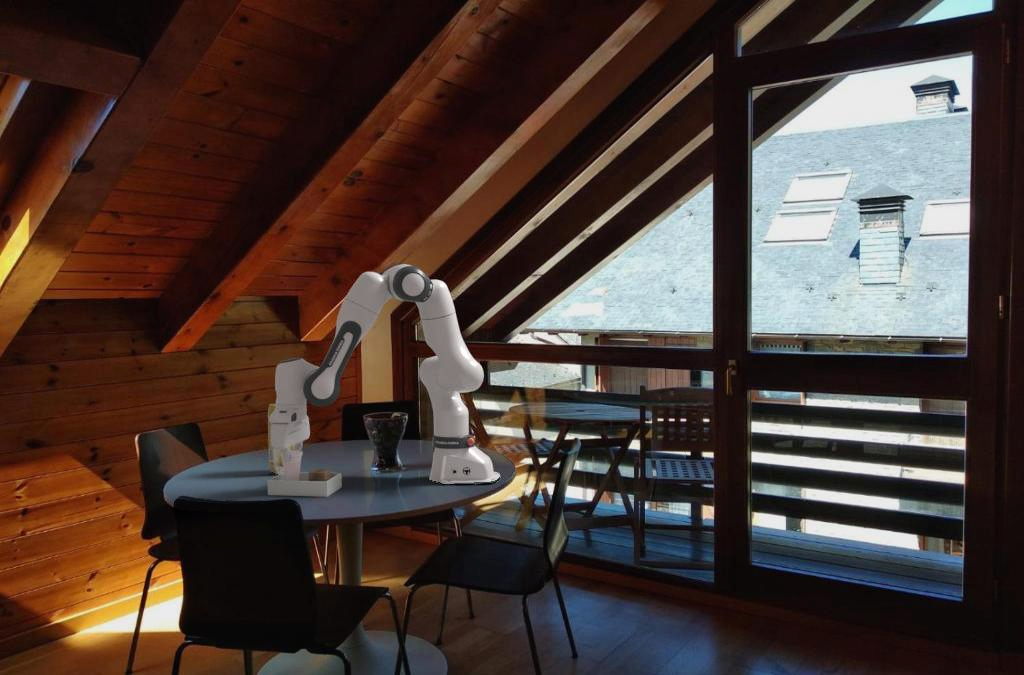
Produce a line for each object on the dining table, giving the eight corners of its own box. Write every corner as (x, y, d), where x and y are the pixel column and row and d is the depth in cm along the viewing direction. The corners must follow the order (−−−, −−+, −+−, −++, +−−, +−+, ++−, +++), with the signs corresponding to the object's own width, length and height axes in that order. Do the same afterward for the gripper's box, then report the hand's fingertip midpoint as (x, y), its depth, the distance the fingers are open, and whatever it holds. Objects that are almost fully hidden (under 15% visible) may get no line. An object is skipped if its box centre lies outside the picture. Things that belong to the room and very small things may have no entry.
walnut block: (331, 489, 244) (330, 469, 244) (325, 493, 239) (324, 473, 239) (315, 488, 245) (314, 469, 244) (308, 492, 240) (308, 472, 239)
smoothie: (279, 482, 244) (279, 436, 244) (301, 481, 247) (301, 435, 246) (281, 487, 238) (281, 439, 238) (304, 485, 241) (304, 438, 240)
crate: (341, 489, 247) (341, 473, 247) (327, 499, 235) (327, 482, 235) (284, 487, 250) (284, 471, 249) (267, 497, 238) (267, 480, 237)
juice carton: (276, 476, 266) (275, 402, 264) (266, 472, 272) (265, 400, 270) (303, 472, 271) (302, 400, 270) (293, 468, 278) (292, 398, 276)
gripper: (295, 407, 252) (295, 452, 253) (266, 417, 232) (267, 466, 233) (314, 408, 251) (315, 452, 252) (287, 418, 231) (288, 466, 232)
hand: (292, 459), depth 242 cm, fingers closed on smoothie, 6 cm apart
